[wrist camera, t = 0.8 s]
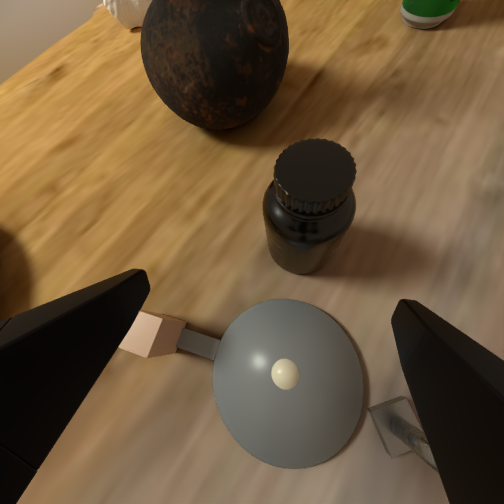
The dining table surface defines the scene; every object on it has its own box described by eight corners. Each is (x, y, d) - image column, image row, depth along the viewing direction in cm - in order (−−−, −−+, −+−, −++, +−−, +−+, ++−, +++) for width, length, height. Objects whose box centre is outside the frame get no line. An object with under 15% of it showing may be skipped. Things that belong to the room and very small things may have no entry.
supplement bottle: (314, 209, 25) (342, 110, 14) (344, 261, 23) (405, 191, 12) (258, 230, 25) (242, 147, 14) (282, 285, 23) (285, 238, 12)
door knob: (428, 449, 17) (564, 554, 9) (392, 463, 17) (494, 580, 9) (396, 386, 19) (487, 426, 10) (363, 399, 19) (427, 448, 10)
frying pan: (392, 433, 17) (433, 468, 13) (172, 514, 17) (133, 579, 13) (311, 259, 23) (319, 241, 19) (145, 319, 23) (111, 315, 18)
